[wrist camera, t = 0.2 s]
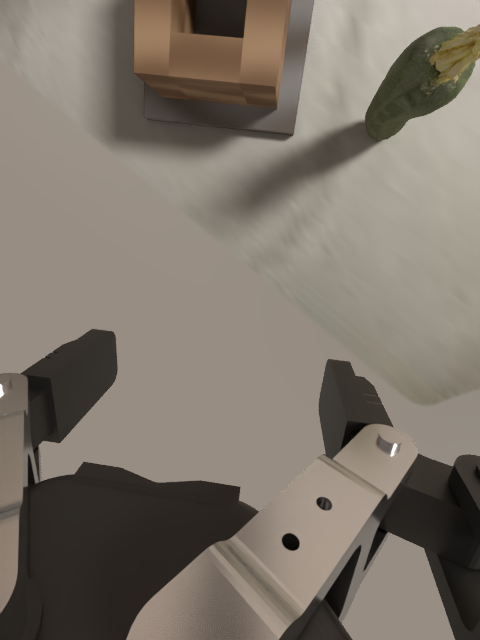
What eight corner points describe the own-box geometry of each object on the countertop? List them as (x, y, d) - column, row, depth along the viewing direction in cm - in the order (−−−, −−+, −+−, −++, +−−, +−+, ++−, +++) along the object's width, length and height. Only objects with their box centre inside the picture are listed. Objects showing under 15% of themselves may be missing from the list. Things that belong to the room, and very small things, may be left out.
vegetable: (350, 146, 35) (426, 80, 16) (355, 97, 33) (445, -37, 15) (394, 145, 34) (527, 76, 15) (401, 96, 33) (556, -46, 14)
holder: (151, -78, 31) (107, -168, 23) (324, -68, 29) (338, -159, 22) (147, 119, 36) (111, 97, 29) (293, 135, 35) (295, 117, 28)
